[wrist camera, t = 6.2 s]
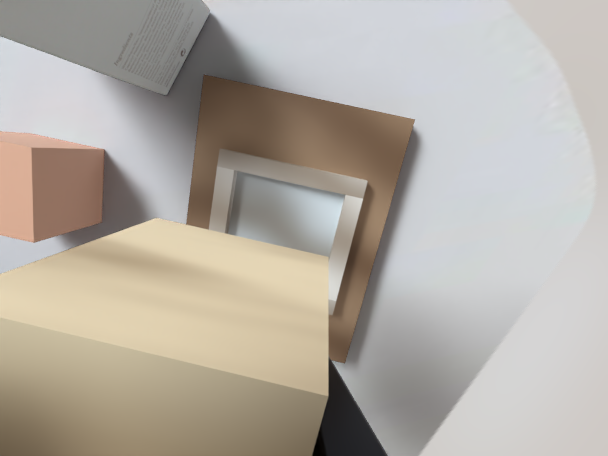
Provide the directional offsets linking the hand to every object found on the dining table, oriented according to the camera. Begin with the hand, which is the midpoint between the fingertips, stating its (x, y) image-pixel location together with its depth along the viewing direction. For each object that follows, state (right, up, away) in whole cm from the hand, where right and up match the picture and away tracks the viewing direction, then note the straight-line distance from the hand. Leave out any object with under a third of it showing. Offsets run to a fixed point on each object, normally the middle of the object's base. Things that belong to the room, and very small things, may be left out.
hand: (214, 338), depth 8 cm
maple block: (0, 0, +1) cm, 1 cm away
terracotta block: (-14, +6, +12) cm, 19 cm away
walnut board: (+1, +3, +12) cm, 12 cm away
